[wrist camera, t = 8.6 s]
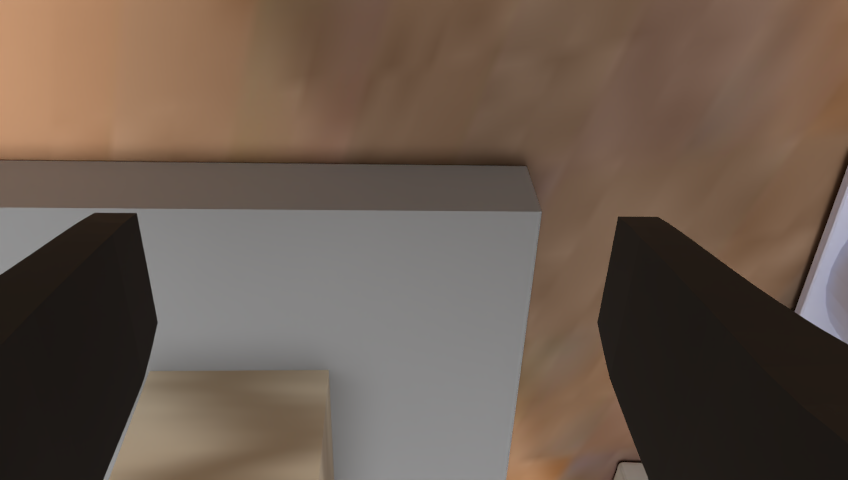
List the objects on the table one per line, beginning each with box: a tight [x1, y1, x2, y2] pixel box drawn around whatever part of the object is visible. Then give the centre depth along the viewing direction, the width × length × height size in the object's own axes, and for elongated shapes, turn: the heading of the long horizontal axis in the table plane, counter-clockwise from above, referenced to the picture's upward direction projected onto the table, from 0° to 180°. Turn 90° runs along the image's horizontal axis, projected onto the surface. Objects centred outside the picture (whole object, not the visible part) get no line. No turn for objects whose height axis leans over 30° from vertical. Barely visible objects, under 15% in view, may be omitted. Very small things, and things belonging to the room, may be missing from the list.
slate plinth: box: [0, 160, 542, 480], centre depth 24 cm, size 16×16×2 cm
